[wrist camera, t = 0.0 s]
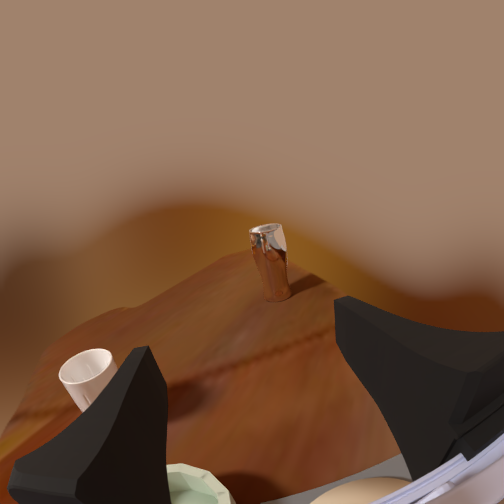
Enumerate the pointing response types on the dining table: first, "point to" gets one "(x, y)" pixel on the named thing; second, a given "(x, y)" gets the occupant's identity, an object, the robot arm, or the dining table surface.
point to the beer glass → (271, 260)
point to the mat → (385, 470)
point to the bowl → (195, 486)
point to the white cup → (87, 375)
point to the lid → (361, 491)
